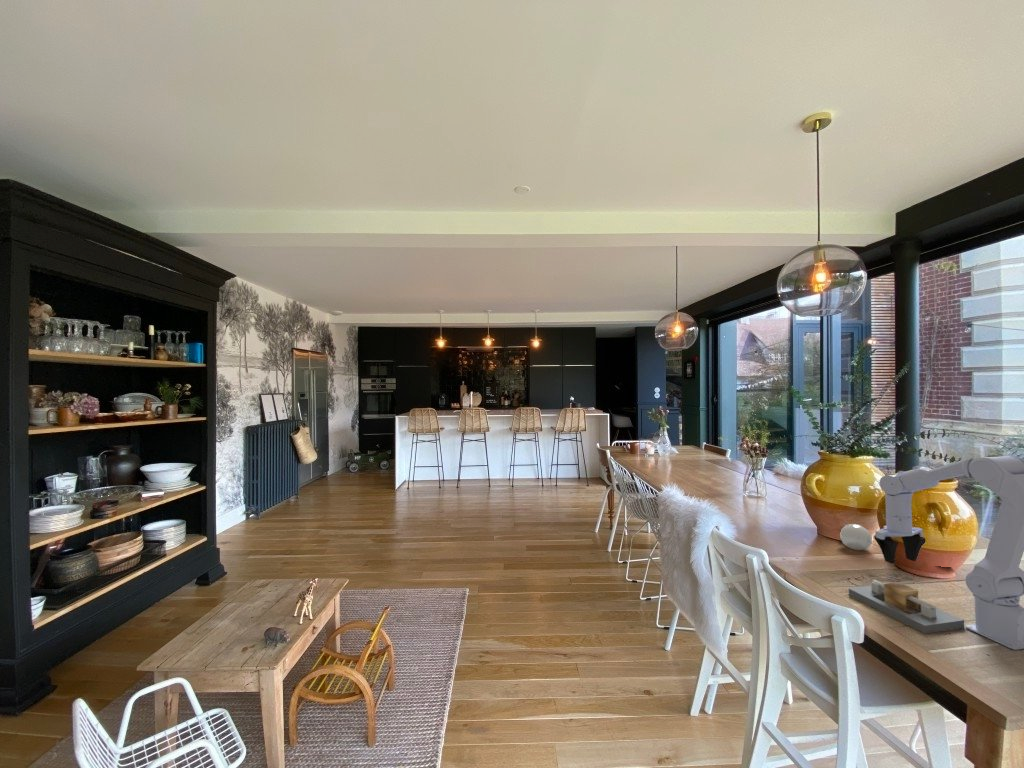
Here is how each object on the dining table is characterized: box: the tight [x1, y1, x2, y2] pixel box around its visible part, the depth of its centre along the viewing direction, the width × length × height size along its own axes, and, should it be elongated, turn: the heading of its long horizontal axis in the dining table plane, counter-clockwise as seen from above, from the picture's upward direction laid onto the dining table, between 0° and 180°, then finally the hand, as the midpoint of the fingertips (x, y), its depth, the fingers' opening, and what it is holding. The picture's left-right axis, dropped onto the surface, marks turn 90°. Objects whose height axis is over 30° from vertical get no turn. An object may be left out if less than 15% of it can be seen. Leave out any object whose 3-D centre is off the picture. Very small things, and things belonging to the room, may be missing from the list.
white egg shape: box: [839, 523, 873, 551], centre depth 161 cm, size 9×10×15 cm
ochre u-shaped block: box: [883, 581, 919, 612], centre depth 116 cm, size 5×5×5 cm
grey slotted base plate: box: [848, 579, 965, 634], centre depth 116 cm, size 20×12×5 cm, turn 9°
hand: (900, 561), depth 125 cm, fingers open, 7 cm apart
